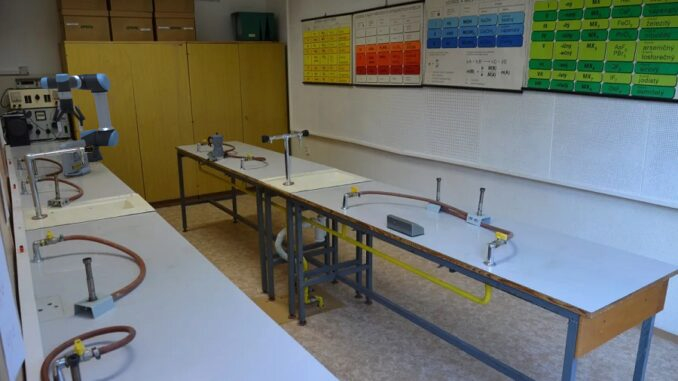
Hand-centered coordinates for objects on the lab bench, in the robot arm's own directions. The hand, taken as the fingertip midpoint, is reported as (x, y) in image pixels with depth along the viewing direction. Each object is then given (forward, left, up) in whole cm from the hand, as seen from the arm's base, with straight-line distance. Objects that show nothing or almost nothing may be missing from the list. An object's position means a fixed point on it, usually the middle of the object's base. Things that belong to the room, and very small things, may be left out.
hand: (70, 131), depth 323 cm
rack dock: (0, 0, -28) cm, 29 cm away
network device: (+1, 0, -27) cm, 27 cm away
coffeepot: (-60, +80, -29) cm, 104 cm away
